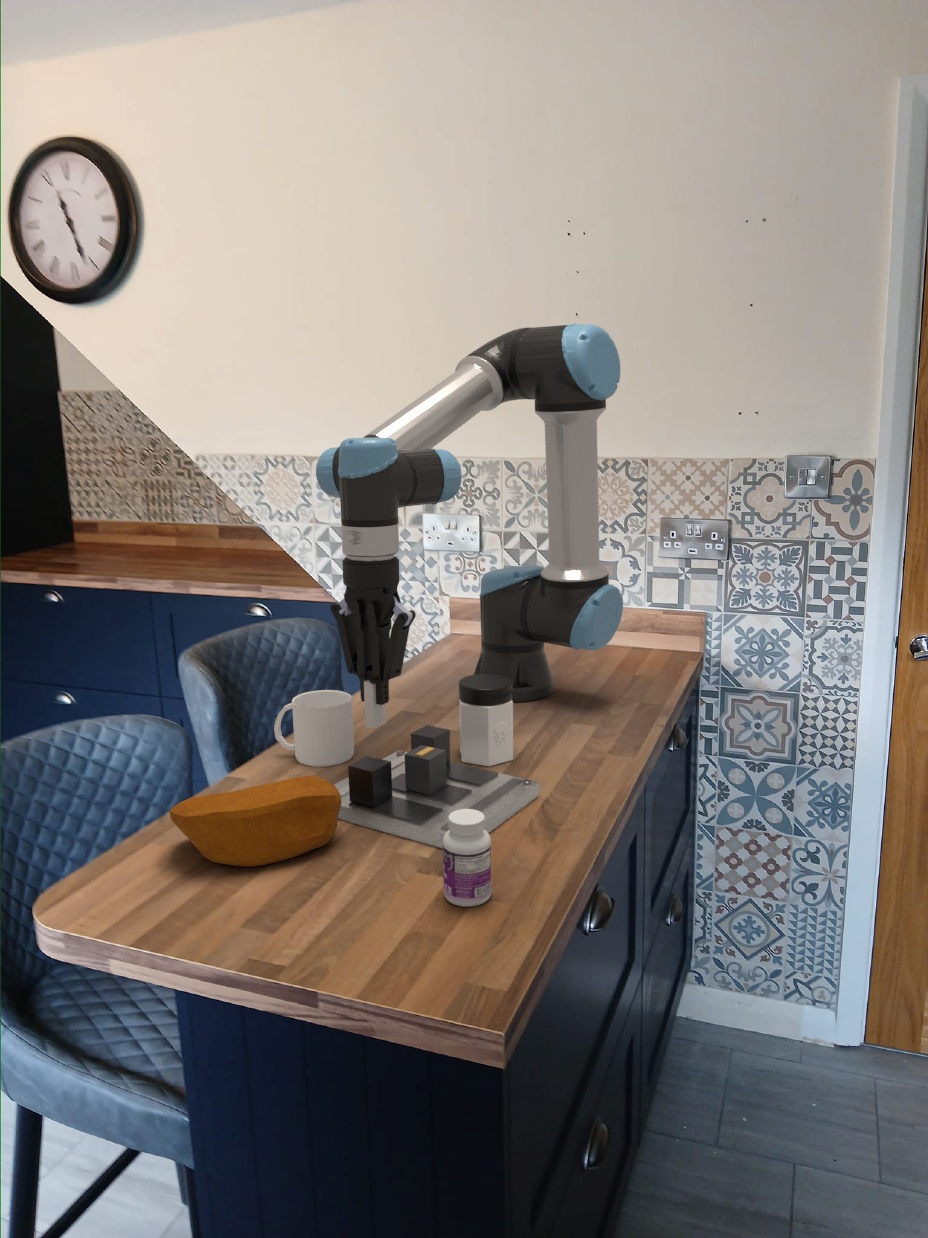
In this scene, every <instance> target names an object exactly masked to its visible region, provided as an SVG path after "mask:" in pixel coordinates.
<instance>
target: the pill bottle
mask: <svg viewBox="0 0 928 1238" xmlns="http://www.w3.org/2000/svg"><path fill="white" fill-rule="evenodd" d="M448 828H449V831H447V832H446V834H445V835H444V837H443V849H442V863H443V864H442V865H443V866H442V867H443V868H442V869H443V870H442V871H443V873H442V874H443V893H444V897H445V899H446V900H447V901H448V902H449V903H450V904H452V905H454V906H458V907H462V908H463V907H464V908H468V907H469V908H470V907H471V908H472V907H477V906H480V905H482V904H483V905H484V903H486V902H487V901H488V900H489V899H490V898H491V896H492V838H491V835H490V833H489V834H488V832H487V831H486V830H484V828H485V816H484V814H483V813H482V812H480V811H478V810H474V809H460V810H456V811H454V812H452V813H451V814H450V815H449V817H448Z"/></svg>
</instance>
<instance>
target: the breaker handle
mask: <svg viewBox="0 0 928 1238" xmlns="http://www.w3.org/2000/svg"><path fill="white" fill-rule="evenodd" d="M407 752H408V753H406V754H405V784H406V789H408V790H412V791H416V792H420V793H423V794H427V795H431V794H433V793H434V792H436V791H438V790H439V789H441V788H442V787H444V786H446V785H447V777H446V750H442V749H438V748H433V747H429V746H424V745H421V746H419V747H417V748H415V749H413V750H410V751H407Z"/></svg>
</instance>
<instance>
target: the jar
mask: <svg viewBox="0 0 928 1238" xmlns="http://www.w3.org/2000/svg"><path fill="white" fill-rule="evenodd" d="M512 693H513V686H512V681H511V679H509V678H508V677H505V676H501V675H495V674H478V675H474V674H472V675H468V676H465V677H462V678H461V679H460V680H459V681H458V706H459V707H458V710H459V713H458V715H459V719H458V720H459V752H460V760H461V762H462V763H466V764H470V765H471V764H472V765H476V766H477V765H479V766H484V767H493V766H496V765H499V764H503V763H507V762H511V761H513V760H514V702H513V701H512Z"/></svg>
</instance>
